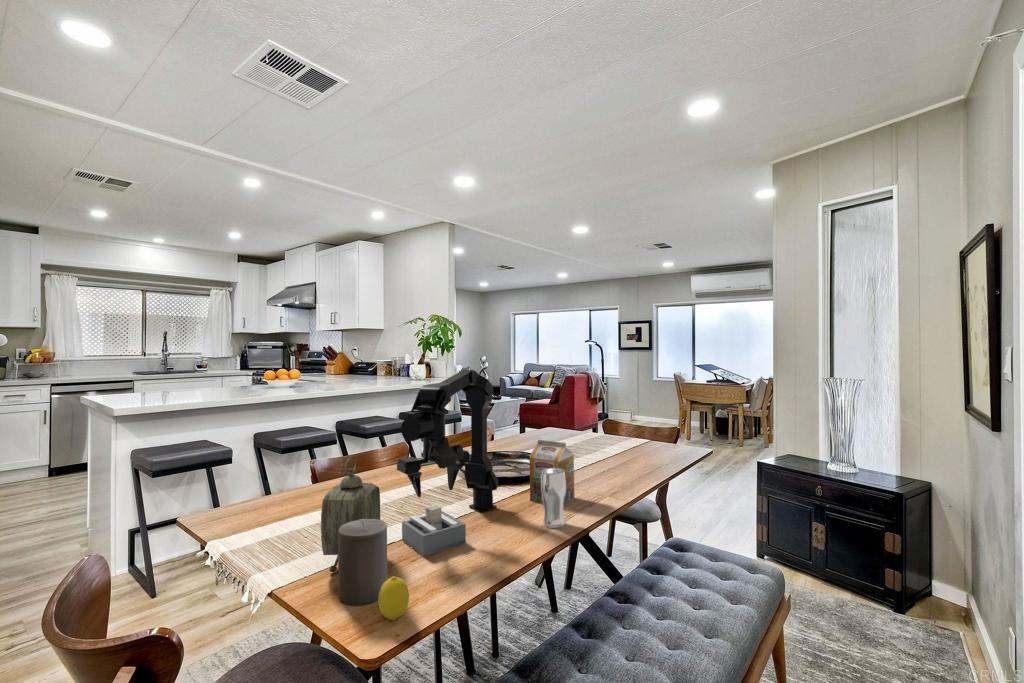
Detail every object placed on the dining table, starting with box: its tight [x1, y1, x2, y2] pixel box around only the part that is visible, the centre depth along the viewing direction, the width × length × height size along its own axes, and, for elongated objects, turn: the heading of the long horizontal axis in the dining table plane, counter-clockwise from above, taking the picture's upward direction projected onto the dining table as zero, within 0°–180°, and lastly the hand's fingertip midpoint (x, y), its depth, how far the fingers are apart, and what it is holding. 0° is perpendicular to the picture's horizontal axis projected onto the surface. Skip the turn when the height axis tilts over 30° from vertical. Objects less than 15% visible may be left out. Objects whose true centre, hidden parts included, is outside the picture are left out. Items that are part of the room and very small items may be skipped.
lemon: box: [377, 575, 410, 621], centre depth 87 cm, size 6×6×8 cm
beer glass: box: [541, 468, 566, 529], centre depth 132 cm, size 7×7×15 cm
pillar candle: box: [337, 519, 389, 607], centre depth 97 cm, size 10×10×15 cm
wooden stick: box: [425, 504, 442, 533], centre depth 121 cm, size 3×3×8 cm
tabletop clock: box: [320, 455, 381, 573], centre depth 111 cm, size 14×9×25 cm, turn 178°
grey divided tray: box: [401, 510, 467, 558], centre depth 121 cm, size 12×12×6 cm
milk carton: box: [528, 439, 575, 504], centre depth 153 cm, size 11×11×19 cm
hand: (435, 493), depth 122 cm, fingers open, 9 cm apart
